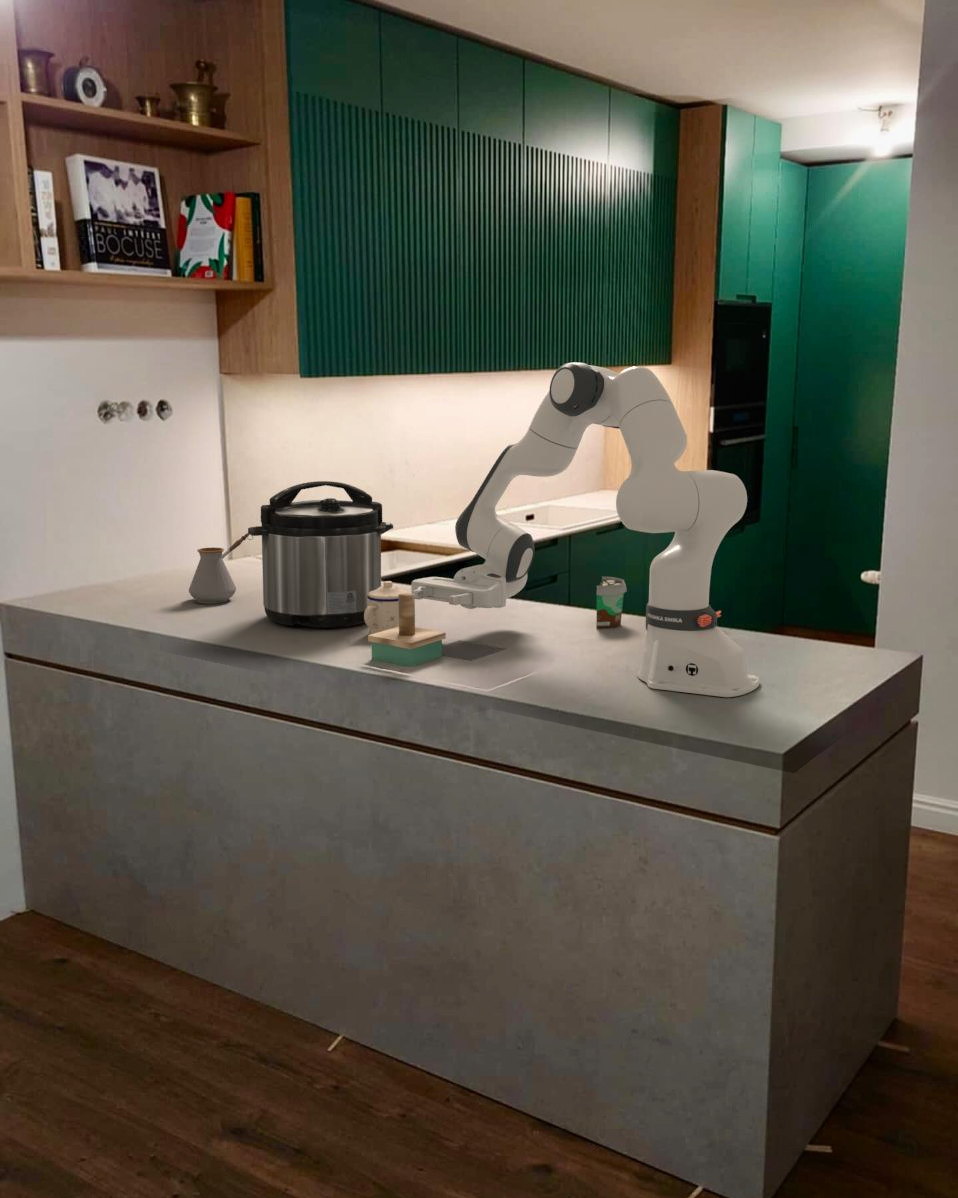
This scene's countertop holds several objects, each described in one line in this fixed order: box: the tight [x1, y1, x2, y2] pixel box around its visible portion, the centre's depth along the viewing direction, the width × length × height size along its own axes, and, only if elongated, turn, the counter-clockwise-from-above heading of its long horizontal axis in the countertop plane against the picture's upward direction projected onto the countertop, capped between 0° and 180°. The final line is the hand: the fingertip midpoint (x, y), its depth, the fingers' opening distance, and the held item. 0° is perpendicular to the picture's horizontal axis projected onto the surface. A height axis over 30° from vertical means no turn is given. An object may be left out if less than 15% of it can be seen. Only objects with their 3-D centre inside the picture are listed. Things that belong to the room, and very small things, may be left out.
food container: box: [595, 576, 628, 630], centre depth 267 cm, size 12×6×10 cm, turn 168°
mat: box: [442, 640, 506, 662], centre depth 243 cm, size 12×12×1 cm
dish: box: [370, 639, 443, 667], centre depth 237 cm, size 10×10×4 cm
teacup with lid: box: [364, 580, 409, 635], centre depth 257 cm, size 12×9×12 cm
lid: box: [367, 592, 447, 649], centre depth 236 cm, size 11×11×9 cm
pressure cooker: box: [247, 480, 394, 629], centre depth 272 cm, size 30×28×32 cm
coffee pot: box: [188, 532, 254, 605], centre depth 297 cm, size 21×12×15 cm, turn 152°
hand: (433, 598), depth 242 cm, fingers open, 8 cm apart
